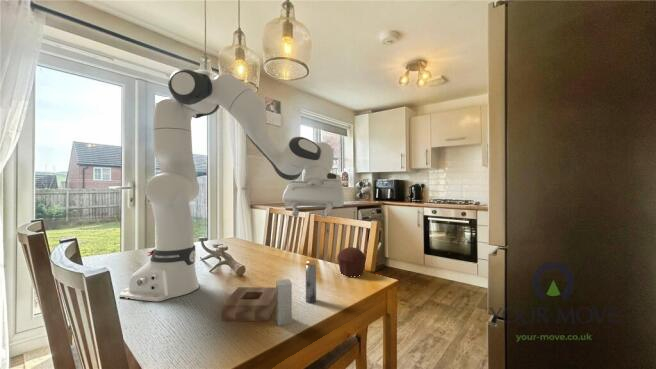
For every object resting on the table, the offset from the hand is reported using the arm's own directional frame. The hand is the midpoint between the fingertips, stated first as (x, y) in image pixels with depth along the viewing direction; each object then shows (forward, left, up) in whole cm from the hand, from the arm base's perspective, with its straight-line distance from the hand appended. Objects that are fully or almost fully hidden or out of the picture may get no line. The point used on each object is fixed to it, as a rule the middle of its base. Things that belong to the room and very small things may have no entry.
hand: (309, 216), depth 82 cm
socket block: (-15, -8, -25) cm, 31 cm away
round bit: (+1, -2, -25) cm, 25 cm away
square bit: (-5, -14, -25) cm, 29 cm away
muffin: (+15, +23, -25) cm, 37 cm away
